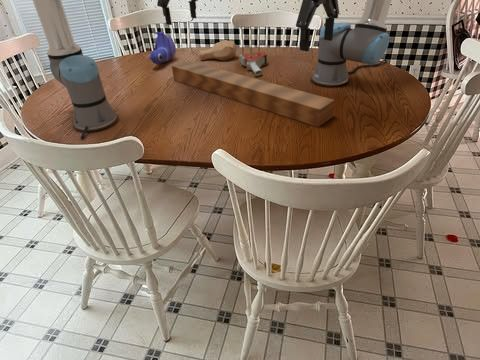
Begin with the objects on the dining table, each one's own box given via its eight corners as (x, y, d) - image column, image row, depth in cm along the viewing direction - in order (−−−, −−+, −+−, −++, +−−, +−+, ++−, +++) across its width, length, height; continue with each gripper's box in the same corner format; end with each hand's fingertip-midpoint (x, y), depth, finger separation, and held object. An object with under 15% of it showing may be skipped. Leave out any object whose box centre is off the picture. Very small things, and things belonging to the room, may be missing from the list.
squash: (238, 60, 183) (235, 44, 177) (201, 68, 185) (196, 51, 179) (237, 51, 191) (234, 34, 185) (201, 58, 193) (197, 42, 186)
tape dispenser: (258, 80, 163) (278, 64, 175) (258, 69, 159) (279, 54, 172) (226, 73, 170) (248, 58, 183) (226, 62, 167) (248, 48, 179)
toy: (164, 64, 198) (143, 70, 176) (159, 31, 191) (137, 33, 169) (180, 63, 196) (162, 69, 173) (176, 30, 189) (156, 32, 167)
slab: (173, 79, 166) (171, 65, 162) (189, 74, 171) (187, 60, 167) (318, 127, 121) (319, 109, 117) (332, 117, 127) (334, 99, 123)
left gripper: (153, -34, 128) (163, 28, 141) (203, -41, 143) (209, 16, 155) (141, -34, 133) (152, 26, 145) (191, -41, 147) (197, 14, 160)
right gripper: (308, -27, 91) (304, 57, 103) (356, -38, 105) (347, 37, 117) (284, -28, 95) (283, 53, 107) (333, -38, 109) (327, 34, 122)
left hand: (181, 21), depth 150 cm, fingers open, 13 cm apart
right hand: (316, 45), depth 112 cm, fingers open, 13 cm apart
